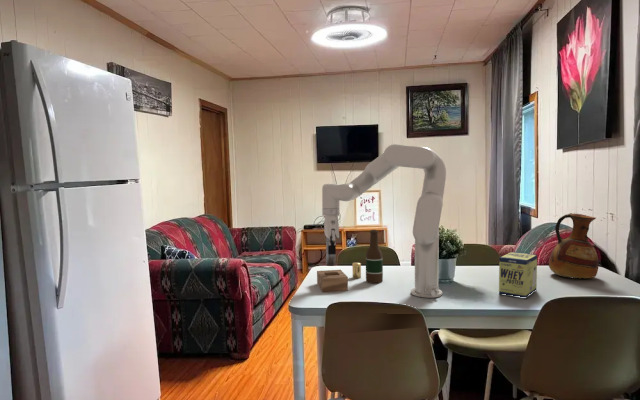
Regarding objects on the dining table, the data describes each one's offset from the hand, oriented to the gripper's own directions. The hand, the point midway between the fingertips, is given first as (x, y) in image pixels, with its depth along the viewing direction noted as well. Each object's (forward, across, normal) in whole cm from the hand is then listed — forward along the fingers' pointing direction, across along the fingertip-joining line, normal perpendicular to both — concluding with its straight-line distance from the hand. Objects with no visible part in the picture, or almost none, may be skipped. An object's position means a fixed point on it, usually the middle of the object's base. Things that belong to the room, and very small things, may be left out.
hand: (330, 252), depth 189 cm
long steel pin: (+5, 0, 0) cm, 5 cm away
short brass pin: (+15, +14, -16) cm, 26 cm away
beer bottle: (+15, +5, -22) cm, 27 cm away
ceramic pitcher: (+14, -8, -114) cm, 116 cm away
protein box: (+14, -26, -74) cm, 79 cm away
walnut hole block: (+15, 0, 0) cm, 15 cm away
